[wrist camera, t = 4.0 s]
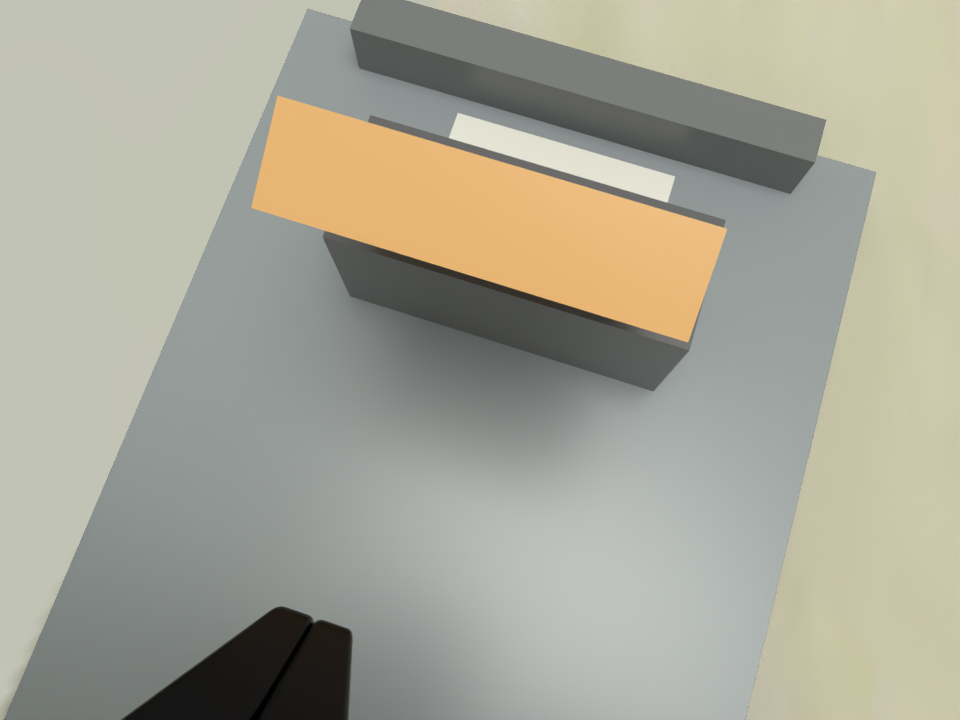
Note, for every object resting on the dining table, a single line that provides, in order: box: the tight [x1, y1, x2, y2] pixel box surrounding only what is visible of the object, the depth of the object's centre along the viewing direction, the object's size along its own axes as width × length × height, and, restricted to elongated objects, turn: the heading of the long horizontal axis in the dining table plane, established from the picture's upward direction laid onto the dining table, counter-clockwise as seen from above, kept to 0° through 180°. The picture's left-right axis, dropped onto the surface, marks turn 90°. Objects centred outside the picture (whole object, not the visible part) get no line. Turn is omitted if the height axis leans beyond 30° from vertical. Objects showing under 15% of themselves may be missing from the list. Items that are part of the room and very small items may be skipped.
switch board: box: [4, 0, 876, 720], centre depth 20 cm, size 21×16×5 cm
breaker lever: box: [251, 96, 727, 342], centre depth 15 cm, size 2×7×7 cm, turn 72°
